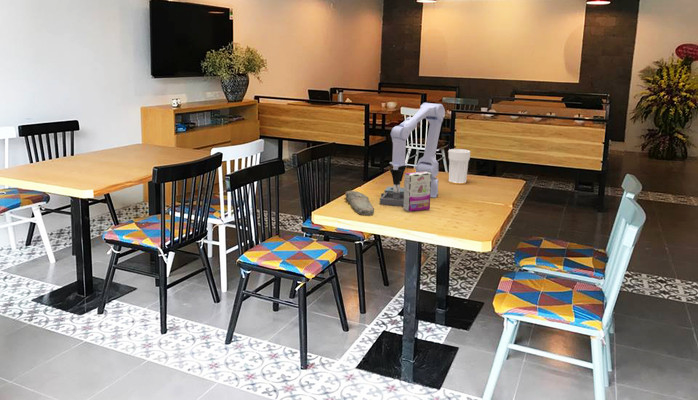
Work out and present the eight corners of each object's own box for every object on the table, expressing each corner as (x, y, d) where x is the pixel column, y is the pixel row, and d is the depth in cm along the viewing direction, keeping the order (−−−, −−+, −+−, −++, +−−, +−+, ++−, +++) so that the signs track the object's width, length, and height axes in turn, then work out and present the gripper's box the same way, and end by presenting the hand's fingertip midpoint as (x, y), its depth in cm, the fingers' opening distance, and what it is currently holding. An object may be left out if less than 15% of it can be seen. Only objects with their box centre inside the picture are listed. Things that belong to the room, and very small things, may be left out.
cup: (471, 182, 321) (473, 150, 317) (463, 186, 311) (465, 153, 307) (451, 179, 327) (453, 148, 322) (443, 183, 317) (445, 150, 313)
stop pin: (400, 200, 273) (400, 181, 271) (398, 201, 270) (399, 182, 268) (393, 199, 274) (394, 180, 272) (392, 201, 271) (392, 181, 269)
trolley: (412, 195, 287) (413, 181, 286) (409, 199, 279) (410, 184, 277) (384, 192, 291) (385, 178, 289) (381, 197, 282) (381, 182, 280)
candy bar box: (423, 207, 266) (425, 171, 262) (430, 209, 261) (432, 173, 257) (402, 209, 260) (404, 172, 257) (408, 212, 256) (410, 174, 252)
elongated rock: (355, 219, 248) (378, 220, 250) (356, 207, 247) (379, 208, 249) (341, 195, 281) (361, 196, 283) (342, 185, 280) (363, 185, 282)
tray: (413, 200, 277) (413, 194, 276) (408, 207, 265) (408, 201, 264) (385, 198, 280) (385, 192, 279) (379, 204, 268) (379, 198, 267)
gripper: (393, 150, 275) (392, 179, 278) (387, 155, 261) (385, 185, 264) (408, 151, 273) (407, 180, 276) (402, 156, 259) (401, 186, 263)
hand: (397, 182), depth 270 cm, fingers open, 7 cm apart
